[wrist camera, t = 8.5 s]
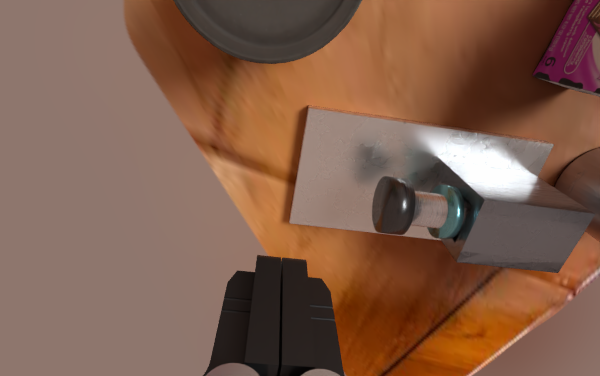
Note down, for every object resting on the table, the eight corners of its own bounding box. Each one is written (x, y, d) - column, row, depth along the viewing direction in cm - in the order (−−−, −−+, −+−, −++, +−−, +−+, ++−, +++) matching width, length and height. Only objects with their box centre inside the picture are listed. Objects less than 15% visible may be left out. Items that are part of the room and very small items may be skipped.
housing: (545, 140, 36) (629, 180, 27) (495, 241, 41) (550, 300, 33) (308, 105, 33) (316, 136, 24) (289, 217, 39) (290, 274, 30)
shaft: (558, 190, 34) (601, 218, 29) (534, 233, 36) (571, 265, 32) (381, 167, 32) (398, 192, 27) (368, 213, 34) (381, 244, 30)
